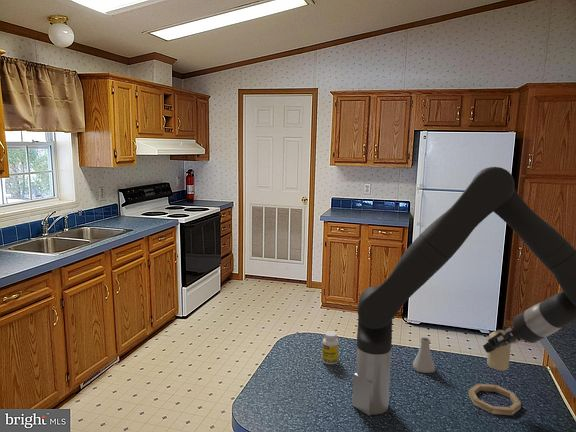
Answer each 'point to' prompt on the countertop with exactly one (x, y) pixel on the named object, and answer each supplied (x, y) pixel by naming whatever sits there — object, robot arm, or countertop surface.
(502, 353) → the candle
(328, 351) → the supplement bottle
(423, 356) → the flask
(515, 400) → the maple ring
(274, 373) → the countertop surface
